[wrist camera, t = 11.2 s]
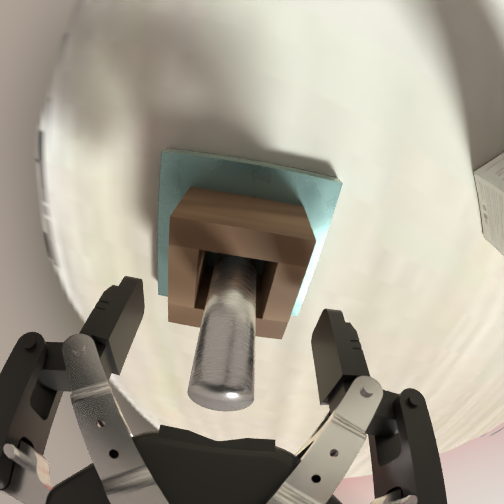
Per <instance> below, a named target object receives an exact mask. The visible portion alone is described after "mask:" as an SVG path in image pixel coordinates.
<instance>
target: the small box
mask: <svg viewBox="0 0 504 504" xmlns="http://www.w3.org/2000/svg"><path fill="white" fill-rule="evenodd" d="M474 177H475V182H476V187H477V193H478V198H479V204H480V211H481V218H482V225H483V234H484V238H485V239H486V240H487V241H488V242H489V243H490V244H492V245H493V246H494V247H495V248H496V249H497V250H498V251H499V252H500V253H501V254H502V255H503V256H504V152H503V153H502V154H500V155H499V156H497V157H496V158H494V159H493V160H491V161H490V162H488V163H487V164H485V165H484V166H482V167H481V168H479V169H477V170H476V171H474Z"/></svg>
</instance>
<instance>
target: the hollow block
mask: <svg viewBox="0 0 504 504" xmlns="http://www.w3.org/2000/svg"><path fill="white" fill-rule="evenodd" d="M315 244H316V238H315V235H314V233H313V230H312V227H311V224H310V222H309V219H308V216H307V214H306V211H305V208H304V206H299V205H294V204H289V203H284V202H278V201H273V200H268V199H262V198H257V197H251V196H245V195H239V194H233V193H227V192H221V191H215V190H208V189H201V188H195V187H190V188H189V189H188V190H187V192H186V193H185V195H184V196H183V198H182V199H181V201H180V202H179V203H178V205H177V206H176V208H175V209H174V211H173V212H172V214H171V215H170V223H169V249H168V321H169V322H173V323H178V324H183V325H189V326H194V327H200V328H201V323H202V319H203V314H204V310H205V305H206V301H207V296H208V292H209V287H210V283H211V279H212V274H213V270H214V267H212V266H206V258H207V251H211V252H217V253H223V254H229V255H235V256H241V257H247V258H253V259H259V260H265V264H264V268H263V272H262V275H261V274H256V322H255V336H259V337H267V338H275V339H282V337H283V334H284V332H285V329H286V326H287V324H288V321H289V319H290V316H291V313H292V310H293V308H294V305H295V302H296V299H297V297H298V294H299V291H300V288H301V285H302V283H303V280H304V277H305V274H306V271H307V268H308V265H309V262H310V259H311V256H312V253H313V250H314V247H315Z"/></svg>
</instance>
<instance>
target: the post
mask: <svg viewBox="0 0 504 504" xmlns="http://www.w3.org/2000/svg"><path fill="white" fill-rule="evenodd" d="M190 187H195V188H201V189H208V190H215V191H221V192H227V193H233V194H239V195H245V196H251V197H257V198H262V199H268V200H273V201H278V202H284V203H289V204H294V205H299V206H304V208H305V211H306V214H307V216H308V219H309V222H310V224H311V227H312V230H313V233H314V235H315V238H316V244H315V247H314V250H313V253H312V256H311V259H310V262H309V265H308V268H307V271H306V274H305V277H304V280H303V283H302V285H301V288H300V291H299V294H298V297H297V299H296V302H295V305H294V308H293V310H292V313H291V316H298V313H299V310H300V308H301V305H302V302H303V300H304V297H305V294H306V292H307V289H308V286H309V284H310V281H311V278H312V275H313V272H314V270H315V267H316V264H317V261H318V258H319V255H320V252H321V249H322V246H323V244H324V241H325V238H326V235H327V231H328V228H329V225H330V222H331V219H332V216H333V213H334V210H335V206H336V203H337V200H338V197H339V193H340V190H341V187H342V182H341V181H340V180H339V179H338V178H335V177H331V176H327V175H323V174H319V173H314V172H310V171H305V170H301V169H296V168H291V167H286V166H281V165H276V164H271V163H266V162H260V161H255V160H249V159H243V158H237V157H231V156H224V155H217V154H210V153H203V152H195V151H186V150H178V149H168V148H167V149H165V150H164V151H162V154H161V167H160V183H159V203H158V295H162V296H168V249H169V223H170V215H171V214H172V212H173V211H174V209H175V208H176V206H177V205H178V203H179V202H180V201H181V199H182V198H183V196H184V195H185V193H186V192H187V190H188V189H189V188H190ZM264 264H265V260H259V259H253V258H247V257H241V256H235V255H229V254H223V253H217V252H211V251H207V258H206V266H212V267H214V270H213V274H212V279H211V283H210V287H209V292H208V296H207V301H206V305H205V310H204V314H203V319H202V323H201V328H200V333H199V337H198V342H197V347H196V352H195V356H194V361H193V366H192V371H191V376H190V381H189V387H188V396H189V397H190V399H191V400H192V401H194V402H195V403H196V404H198V405H200V406H202V407H205V408H208V409H212V410H217V411H237V410H241V409H244V408H246V407H248V406H250V405H251V404H252V403H253V401H254V371H255V322H256V274H261V275H262V272H263V268H264Z"/></svg>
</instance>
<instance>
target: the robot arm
mask: <svg viewBox="0 0 504 504" xmlns="http://www.w3.org/2000/svg"><path fill="white" fill-rule="evenodd" d="M143 314H144V294H143V282H142V279H138V278H133V277H128V276H125V277H124V278H123V280H122V281H121V283H120V285H119V286H115V285H112V286H111V287H110V288H108V289H107V290H106V291H104V293H103V294H102V296H101V297H100V299H99V302H97V304H96V306H95V308H94V309H93V311H92V312H91V314H90V316H89V317H88V319H87V321H86V323H85V324H84V326H83V328H82V330H81V331H80V333H79V334H75V335H72V336H70V337H69V338H67V339H66V340H65V341H64V342H45V340H44V338H43V337H42V336H41V335H40V334H39V333H36V332H29V333H26V334H24V335H23V336H21V337H20V338H19V340H18V341H17V343H16V345H15V347H14V349H13V350H12V352H11V354H10V356H9V358H8V360H7V362H6V364H5V365H4V367H3V369H2V372H1V373H0V492H2V493H4V494H7V495H9V496H12V497H14V498H15V499H17V500H19V501H21V502H22V503H24V504H342V503H341V502H340V501H339V500H338V499H337V498H336V497H335V496H334V495H333V492H334V491H335V490H336V488H337V486H338V485H339V484H340V482H341V480H342V479H343V477H344V476H345V474H346V473H347V471H348V469H349V468H350V466H351V465H352V463H353V461H354V459H355V458H356V456H357V454H358V453H359V451H360V449H361V447H362V445H363V444H364V442H365V440H366V436H367V435H366V434H368V437H369V445H370V453H371V462H372V471H373V482H374V494H375V500H373V501H372V502H371V503H370V504H447V498H446V491H445V485H444V479H443V473H442V468H441V462H440V457H439V453H438V448H437V444H436V439H435V435H434V431H433V427H432V423H431V420H430V416H429V412H428V409H427V405H426V402H425V399H424V397H423V395H422V394H421V393H420V392H419V391H417V390H415V389H412V388H408V389H405V390H403V391H402V392H401V393H400V394H396V393H392V392H389V391H385V390H383V389H382V387H381V385H380V383H379V382H378V381H377V380H375V379H374V378H372V377H370V374H369V371H368V367H367V364H366V360H365V357H364V354H363V350H361V348H362V347H361V344H360V342H359V338H358V334H357V331H356V330H355V329H354V327H353V326H352V325H351V324H350V323H347V322H345V320H344V317H343V313H342V311H340V310H332V309H324V310H323V312H322V314H321V316H320V318H319V320H318V323H317V325H316V327H315V329H314V331H313V334H312V340H311V344H312V351H313V358H314V364H315V371H316V378H317V384H318V392H319V399H320V405H329V408H330V410H329V412H328V413H327V414H326V416H325V417H324V418H323V420H322V421H321V423H320V424H319V426H318V427H317V428H316V430H315V431H314V432H313V434H312V435H311V436H310V438H309V439H308V440H307V442H306V443H305V444H304V445H303V446H302V447H301V448H300V450H299V451H298V452H297V453H296V454H295V455H293V454H292V453H290V452H288V451H287V450H285V449H282V448H279V447H276V446H275V440H270V439H253V438H244V439H236V440H228V441H214V440H212V439H209V438H206V437H204V436H201V435H199V434H196V433H194V432H191V431H189V430H184V429H179V428H174V427H169V426H164V425H160V429H159V431H150V432H145V433H141V434H138V435H135V436H132V433H131V432H130V429H129V427H128V425H127V423H126V421H125V419H124V417H123V415H122V412H121V410H120V408H119V405H118V403H117V401H116V398H115V396H114V394H113V391H112V388H111V386H110V383H109V378H110V376H111V373H113V374H117V375H120V373H121V370H122V367H123V365H124V362H125V359H126V357H127V354H128V352H129V349H130V347H131V344H132V342H133V339H134V337H135V335H136V332H137V330H138V327H139V325H140V323H141V320H142V318H143ZM63 391H72V394H71V396H70V397H71V402H72V406H73V409H74V412H75V415H76V418H77V421H78V424H79V427H80V430H81V433H82V436H83V438H84V441H85V444H86V446H87V449H88V451H89V454H90V456H91V459H92V461H93V463H92V464H90V465H89V466H87V467H85V468H84V469H82V470H80V471H79V472H77V473H76V474H74V475H72V476H71V477H69V478H67V479H66V480H64V481H62V482H60V483H59V484H57V485H56V486H54V487H53V486H52V485H51V482H50V478H49V473H50V470H49V464H48V462H47V460H46V459H45V457H44V456H43V454H44V450H45V446H46V442H47V439H48V436H49V433H50V429H51V426H52V423H53V420H54V417H55V414H56V411H57V408H58V405H59V402H60V399H61V397H62V394H63Z"/></svg>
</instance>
